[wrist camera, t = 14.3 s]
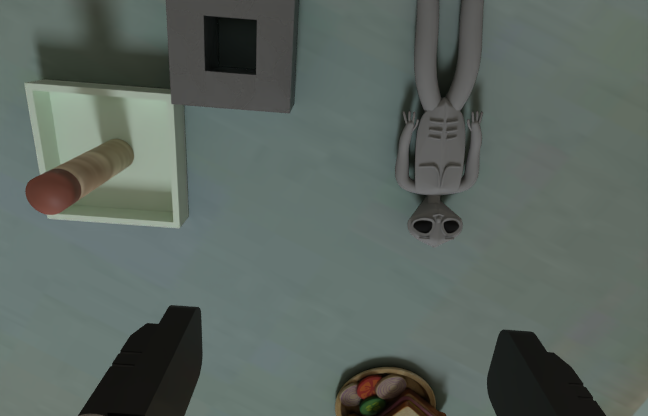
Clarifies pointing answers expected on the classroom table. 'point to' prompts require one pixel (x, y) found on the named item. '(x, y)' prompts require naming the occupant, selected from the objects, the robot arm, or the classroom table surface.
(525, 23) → the classroom table surface
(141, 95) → the tray
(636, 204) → the classroom table surface
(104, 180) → the pin
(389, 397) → the toy sandwich meal
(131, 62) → the classroom table surface
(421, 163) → the alien figure
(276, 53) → the socket block
